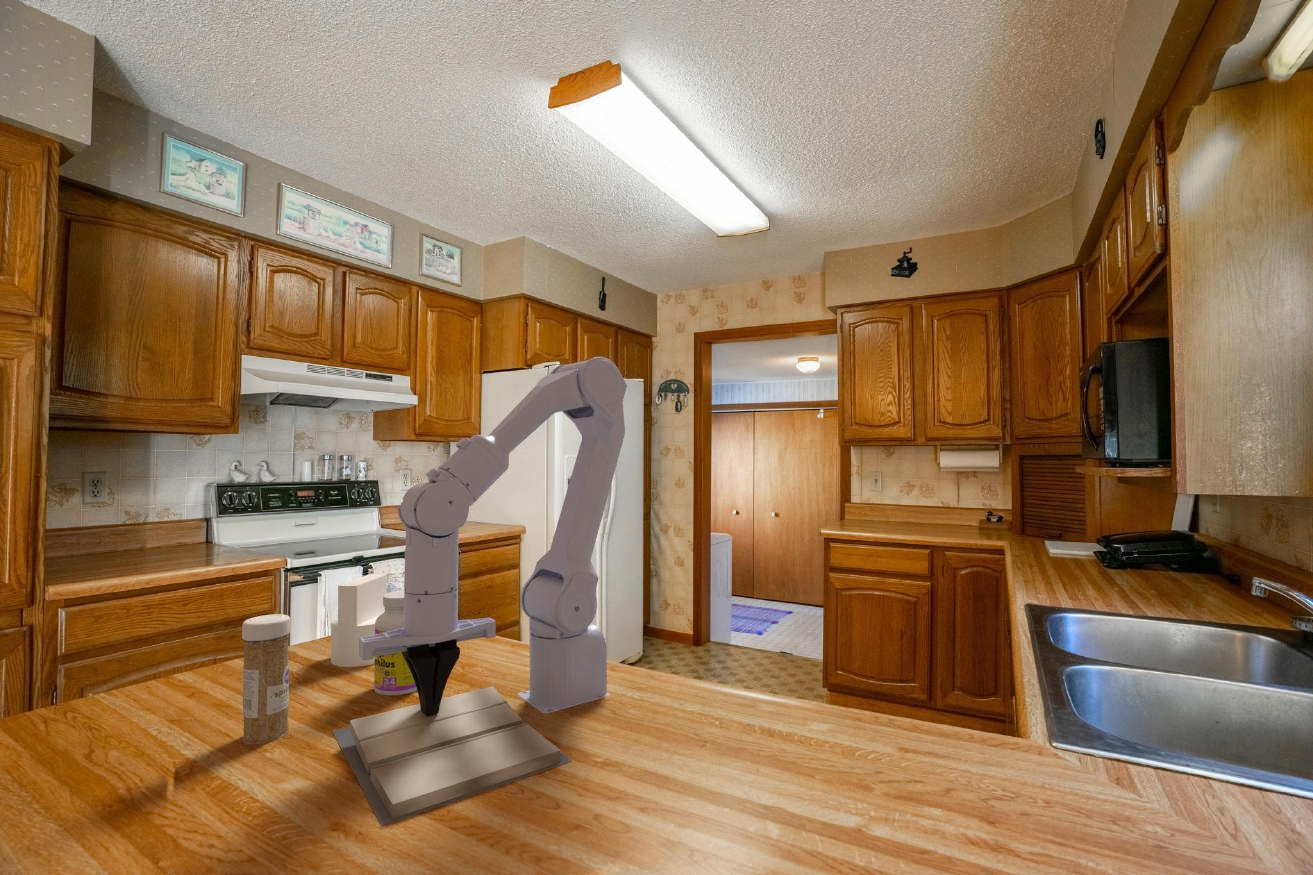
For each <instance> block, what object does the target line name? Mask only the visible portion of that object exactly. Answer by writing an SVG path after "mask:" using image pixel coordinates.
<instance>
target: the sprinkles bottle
mask: <svg viewBox="0 0 1313 875" xmlns="http://www.w3.org/2000/svg"><path fill="white" fill-rule="evenodd" d="M241 627H242V628H241V638H242V639H243V641H242V643H243V667H242V715H243V737H242V742H243V744H247V745H262V744H267V743H270V742H274V741H277V740H280V739H282V738H283V737H285V736H287V735H288V734H289V732H290V727H289V706H290V674H289V672H290V671H289V670H290V667H289V666H290V665H289V637H290V633H291V617H290V616H289V615H287V614H281V613H279V614H275V613H274V614H266V615H259V616H255V617H251V618H250V617H249V618H247V619H245V620H244V621H242V626H241Z"/></svg>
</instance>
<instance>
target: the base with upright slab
mask: <svg viewBox="0 0 1313 875" xmlns="http://www.w3.org/2000/svg"><path fill="white" fill-rule="evenodd" d="M387 581H388V575H387V574H382V573H381V574H380V573H375V574H374V573H372V574H371V573H369V574H367V575H364V576H361V577H358V578H354V579H352V580H349V581H347V582H343V583H341V584H338V585H337V617H335V618H333V619H332V620H331V621H330V663H331V664H332V665H333V666H336V665H337V667H343V668H356V667H364V666H370V665H375V657H374V658H373V659H369V660H364V661H363V660H362V659H361V658H360V656H359V638H362V637H368V636H373V635H375V621H376V619H377V618H378V616H379V615H381V614H382V613H384V612H385V607H384V605H383V596H384V595H385V594H387V593H388V592H387V591H388V588H387V587H388V582H387Z"/></svg>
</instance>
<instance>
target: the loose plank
mask: <svg viewBox="0 0 1313 875" xmlns="http://www.w3.org/2000/svg"><path fill="white" fill-rule="evenodd" d="M349 722H350V723H349V726H350V732H351V735H352V737H353V740H354V742H355V744H356V747H357V749H358V752H359V754H360V757H361V759H362V761H363V764H364V766H365V769H366V771H367V773H368V774H371V767H372V766H376V765H379V764H383V763H386V762H390V761H393V760H397V759H400V758H404V757H407V756H411V755H414V754H418V753H421V752H425V751H428V750H432V749H435V748H439V747H442V746H446V745H449V744H453V743H456V742H460V741H463V740H467V739H470V738H474V737H477V736H481V735H484V734H488V733H491V732H495V731H498V730H502V729H505V728H509V727H512V726H516V725H519V724H522V722H523V719H522V718H521V716H520V715H519V714H518V713H517V712H516V711H515V710H514V708H513V707H512V706H511V705H510V704H509V703H508V701H507V700H506V699H505V698H504V697H503V696H502V695H501V694H500V693H499V691H498V690H497V689H496V688H495V687H494V686H493V685H492V686H489V687H483V688H480V689H475V690H472V691H467V692H463V693H458V694H454V695H450V696H447V697H442V699H441V703H440V708H439V713H437V714H433V715H429V716H425V715H424V713H423V712H422V711H421V707H420V703H417V704H412V705H409V706H404V707H400V708H397V709H392V710H388V711H383V712H379V713H374V714H372V715H371V714H370V715H367V716H363V717H359V718H355V719H351V720H349Z"/></svg>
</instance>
